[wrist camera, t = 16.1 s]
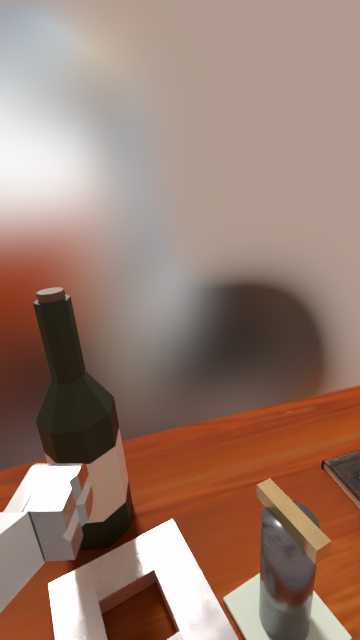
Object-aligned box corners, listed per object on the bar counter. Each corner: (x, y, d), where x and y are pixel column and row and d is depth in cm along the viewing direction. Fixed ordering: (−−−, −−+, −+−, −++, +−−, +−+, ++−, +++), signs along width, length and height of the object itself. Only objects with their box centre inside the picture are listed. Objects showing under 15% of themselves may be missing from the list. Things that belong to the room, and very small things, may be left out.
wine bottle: (92, 484, 47) (45, 279, 36) (144, 498, 44) (111, 280, 33) (52, 539, 40) (-21, 303, 29) (112, 560, 37) (56, 307, 26)
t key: (243, 595, 32) (242, 492, 28) (278, 572, 34) (283, 471, 29) (290, 673, 27) (300, 561, 22) (329, 640, 29) (346, 531, 24)
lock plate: (52, 596, 34) (48, 583, 33) (174, 530, 40) (172, 518, 39) (79, 803, 22) (73, 790, 21) (246, 668, 28) (246, 654, 27)
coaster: (223, 601, 32) (223, 597, 32) (285, 559, 36) (285, 555, 35) (281, 705, 26) (281, 701, 25) (351, 641, 29) (351, 637, 29)
